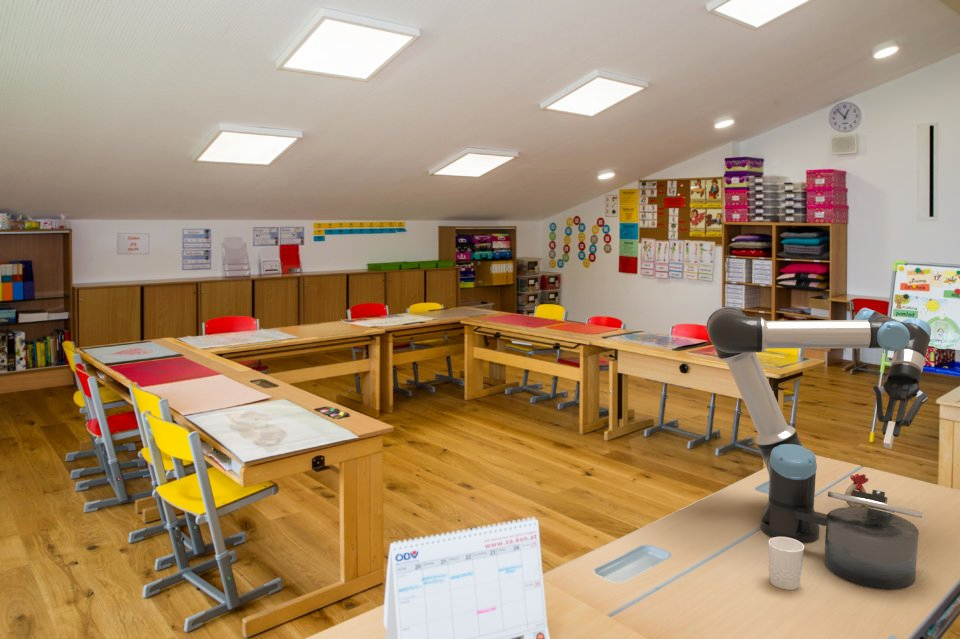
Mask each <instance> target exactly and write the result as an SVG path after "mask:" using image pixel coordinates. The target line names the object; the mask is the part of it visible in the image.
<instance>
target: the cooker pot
mask: <svg viewBox="0 0 960 639" xmlns="http://www.w3.org/2000/svg"><path fill="white" fill-rule="evenodd" d="M795 519H799V520H803V521H807V522H811V523H815V524H819V526H824V527H825V536H824V537H825V539H824V556H823V557H824V558H823V563H824V566H825V568H827V570H828V571H829V572H831V573H832V574H833V575H834V576H837V577H838V578H840V579H842V580H844V581H847V582H849V583H852V584H854V585H858V586H861V587H865V588H869V589H876V590H883V591H884V590H885V591H887V590H889V591H892V590H901V589H902V590H903V589H906V588H909V587H911V586H912V585H913V584H914V583H915V581H916V571H917V556H918V546H919V533H920V532H919V529H918V527H917V526H916V525H915V524H914V523H912V522H911V521H909V520H907V518H905V517H902V516H900V515H897V514H893V513H892V512H888V511H884V510H880V509H875V508H871V507H870V508H865V507H862V506H860V507H850V506H847V507H846V506H845V507H839V508H835V509H832V510H830V511H829V512H827V513H824V512H823V513H822V512H818V511H811V510H807V509H803V508H798V509H797V510H796V511H795Z"/></svg>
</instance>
